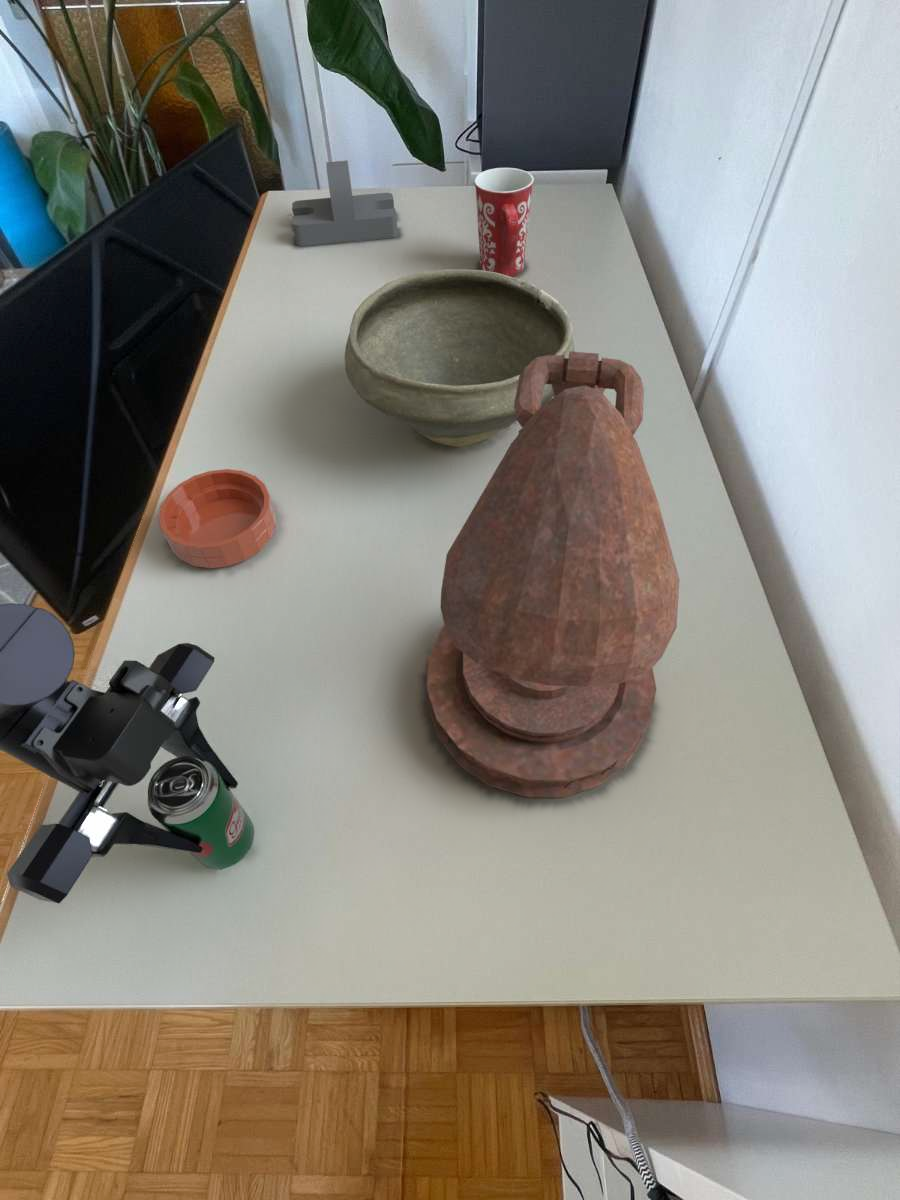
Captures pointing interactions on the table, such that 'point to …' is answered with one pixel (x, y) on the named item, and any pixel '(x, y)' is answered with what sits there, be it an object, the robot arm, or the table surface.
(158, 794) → the soda can
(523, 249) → the mug
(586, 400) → the rusty bell weight
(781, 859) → the table surface
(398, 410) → the bowl
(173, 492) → the dish
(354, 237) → the bracket
